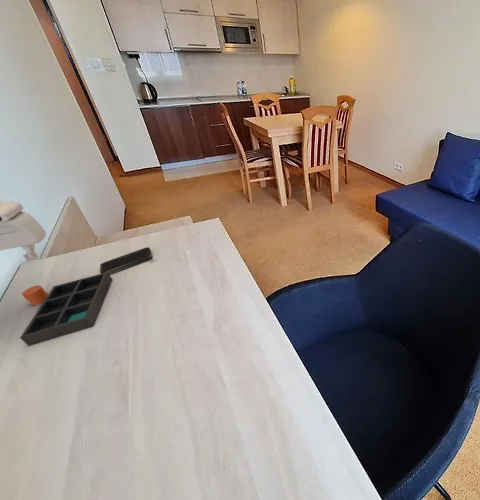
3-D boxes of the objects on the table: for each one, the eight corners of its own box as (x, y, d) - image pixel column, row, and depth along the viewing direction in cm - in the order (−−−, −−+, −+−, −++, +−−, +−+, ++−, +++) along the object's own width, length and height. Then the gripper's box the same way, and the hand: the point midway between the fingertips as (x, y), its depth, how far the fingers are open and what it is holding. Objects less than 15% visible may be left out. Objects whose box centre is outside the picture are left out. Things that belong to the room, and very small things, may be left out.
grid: (28, 345, 76) (19, 338, 74) (60, 293, 93) (53, 286, 91) (93, 326, 80) (86, 318, 78) (112, 279, 96) (107, 271, 95)
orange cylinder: (28, 307, 89) (18, 297, 86) (35, 297, 92) (25, 288, 90) (46, 302, 90) (37, 292, 88) (52, 293, 93) (43, 283, 91)
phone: (151, 256, 103) (100, 274, 97) (152, 258, 104) (102, 277, 98) (148, 246, 109) (100, 263, 102) (150, 248, 110) (102, 265, 103)
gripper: (-102, 231, 64) (-48, 281, 72) (12, 212, 68) (51, 261, 76) (-78, 218, 69) (-30, 266, 77) (27, 201, 73) (63, 248, 81)
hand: (11, 263), depth 76 cm, fingers open, 8 cm apart
